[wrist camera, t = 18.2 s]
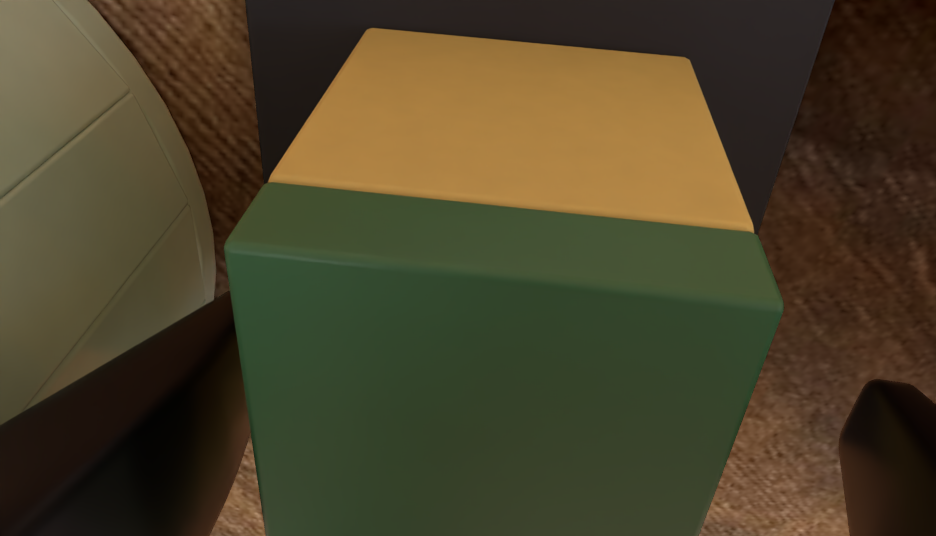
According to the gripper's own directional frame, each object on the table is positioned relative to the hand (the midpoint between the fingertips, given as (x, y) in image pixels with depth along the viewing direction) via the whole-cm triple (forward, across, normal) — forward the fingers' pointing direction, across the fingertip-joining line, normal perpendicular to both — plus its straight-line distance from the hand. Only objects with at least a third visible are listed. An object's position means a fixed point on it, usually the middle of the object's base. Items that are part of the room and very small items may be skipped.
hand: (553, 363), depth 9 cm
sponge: (+3, +1, 0) cm, 3 cm away
